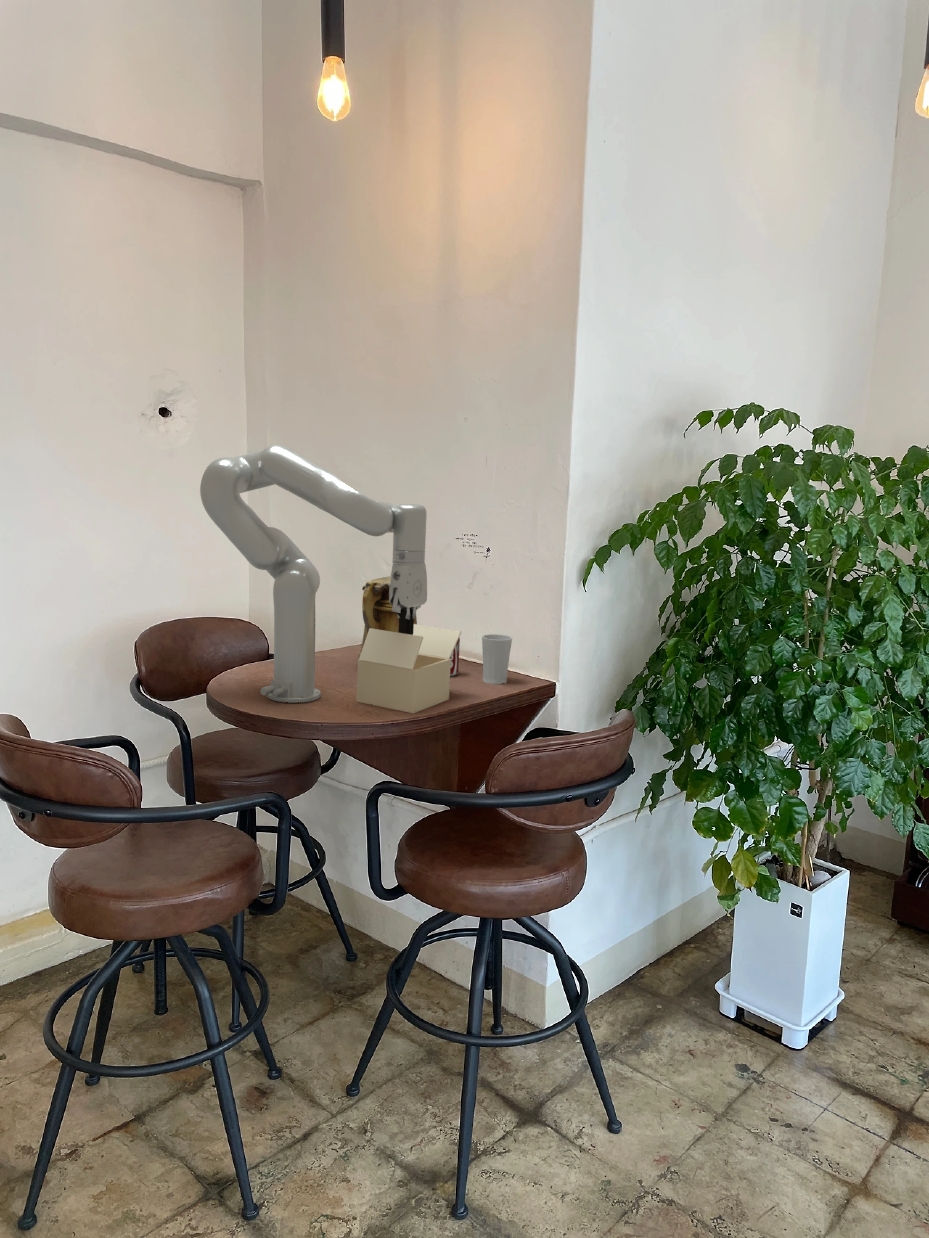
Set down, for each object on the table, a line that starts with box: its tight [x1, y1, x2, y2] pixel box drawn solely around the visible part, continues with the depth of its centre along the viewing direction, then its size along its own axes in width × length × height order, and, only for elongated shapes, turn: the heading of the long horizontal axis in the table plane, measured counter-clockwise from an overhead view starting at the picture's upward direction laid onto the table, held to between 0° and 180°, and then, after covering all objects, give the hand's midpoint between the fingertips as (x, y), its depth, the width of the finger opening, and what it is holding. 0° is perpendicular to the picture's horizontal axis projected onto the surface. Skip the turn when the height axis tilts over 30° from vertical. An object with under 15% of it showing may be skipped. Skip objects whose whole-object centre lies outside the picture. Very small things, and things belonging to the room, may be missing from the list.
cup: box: [481, 633, 513, 685], centre depth 238 cm, size 8×8×12 cm
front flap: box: [359, 628, 423, 670], centre depth 208 cm, size 8×15×1 cm
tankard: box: [356, 575, 418, 665], centre depth 247 cm, size 18×24×25 cm
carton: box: [356, 654, 451, 714], centre depth 214 cm, size 16×16×10 cm
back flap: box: [413, 623, 462, 659], centre depth 222 cm, size 8×15×1 cm
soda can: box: [450, 636, 461, 677], centre depth 243 cm, size 7×7×12 cm
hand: (405, 634), depth 213 cm, fingers closed
